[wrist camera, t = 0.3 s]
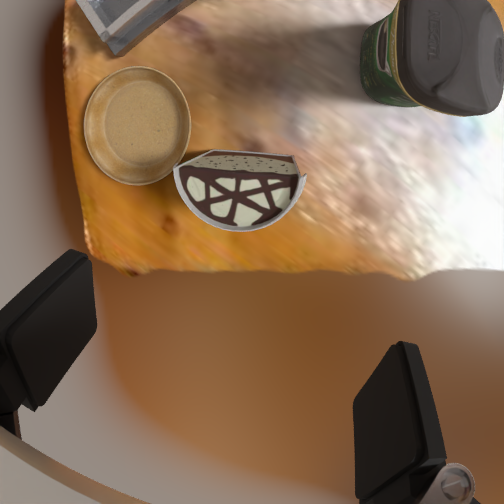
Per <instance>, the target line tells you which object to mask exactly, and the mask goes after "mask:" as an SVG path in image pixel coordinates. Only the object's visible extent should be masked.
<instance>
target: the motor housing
mask: <svg viewBox="0 0 504 504" xmlns="http://www.w3.org/2000/svg"><path fill="white" fill-rule="evenodd" d="M76 1H77V3H78V4H79V6H80V7H81V9H82V10H83V12H84V14H85V15H86V17H87V18H88V20H89V21H90V23H91V24H92V26H93V27H94V29H95V30H96V32H97V34H98V35H99V37H100V38H101V40H102V41H103V43H107V44H108V46H109V48H110V49H111V51H112V52H113V54H114V55H115V56H124V55H125V54H126V53H128V52H129V51H130V50H131V49H132V48H133V47H135V46H136V45H137V44H138V43H139V42H141V41H142V40H143V39H144V38H145V37H147V36H148V35H149V34H150V33H152V32H153V31H154V30H155V29H157V28H158V27H159V26H161V25H162V24H163V23H165V22H166V21H167V20H169V19H170V18H171V17H173V16H174V15H175V14H177V13H178V12H180V11H181V10H183V9H184V8H185V7H187V6H188V5H190V4H191V3H193V2H194V1H196V0H76Z"/></svg>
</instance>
